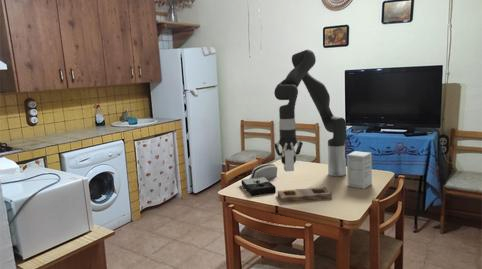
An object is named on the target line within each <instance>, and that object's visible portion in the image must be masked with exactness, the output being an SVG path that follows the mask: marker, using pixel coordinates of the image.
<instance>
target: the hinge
mask: <svg viewBox="0 0 482 269" xmlns="http://www.w3.org/2000/svg"><path fill="white" fill-rule="evenodd" d="M251 171H252V172H251V175H250V177H249V178H248V179H250V178H258V177H264V178H266V179H267V180H269V179H272V178H276V177H277V176H278V167H277V165H276V164H274V163H265V164H261V165H258V166H256V167H254V168H253V169H252V170H251Z"/></svg>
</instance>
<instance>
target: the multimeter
mask: <svg viewBox="0 0 482 269" xmlns="http://www.w3.org/2000/svg"><path fill="white" fill-rule="evenodd" d="M249 178H250V177H249ZM249 178H245V179H244V178H243V179H241V186H242V187H243V189H244V190H245V191H246V192H247V193H248V194H249V196H250V197H257V196H262V195H269V194H275V193H276V191H277V189H276V186H275V185H274V184H273V183H272V182H271V181H269V179H266V178H264V177H258V178H250V179H249ZM276 194H277V193H276Z"/></svg>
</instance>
